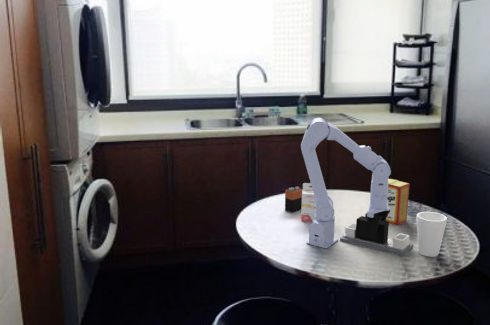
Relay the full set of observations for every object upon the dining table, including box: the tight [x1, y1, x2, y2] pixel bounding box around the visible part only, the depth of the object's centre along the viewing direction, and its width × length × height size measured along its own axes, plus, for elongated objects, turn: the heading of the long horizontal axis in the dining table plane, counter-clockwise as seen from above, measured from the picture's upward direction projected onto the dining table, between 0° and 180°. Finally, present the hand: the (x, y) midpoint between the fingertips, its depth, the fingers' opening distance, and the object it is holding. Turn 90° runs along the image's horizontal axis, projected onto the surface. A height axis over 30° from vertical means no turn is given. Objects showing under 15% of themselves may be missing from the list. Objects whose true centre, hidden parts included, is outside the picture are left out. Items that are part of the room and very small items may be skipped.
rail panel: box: [339, 234, 414, 257], centre depth 176 cm, size 10×23×2 cm, turn 54°
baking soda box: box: [386, 178, 410, 226], centre depth 197 cm, size 10×6×16 cm
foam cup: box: [415, 211, 448, 258], centre depth 167 cm, size 10×9×13 cm
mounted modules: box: [344, 222, 410, 249], centre depth 176 cm, size 6×21×3 cm, turn 54°
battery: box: [284, 186, 303, 214], centre depth 210 cm, size 4×7×10 cm, turn 129°
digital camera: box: [355, 215, 390, 244], centre depth 176 cm, size 10×5×7 cm, turn 54°
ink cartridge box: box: [300, 182, 316, 223], centre depth 198 cm, size 9×5×15 cm, turn 84°
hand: (376, 231), depth 175 cm, fingers closed on digital camera, 5 cm apart
